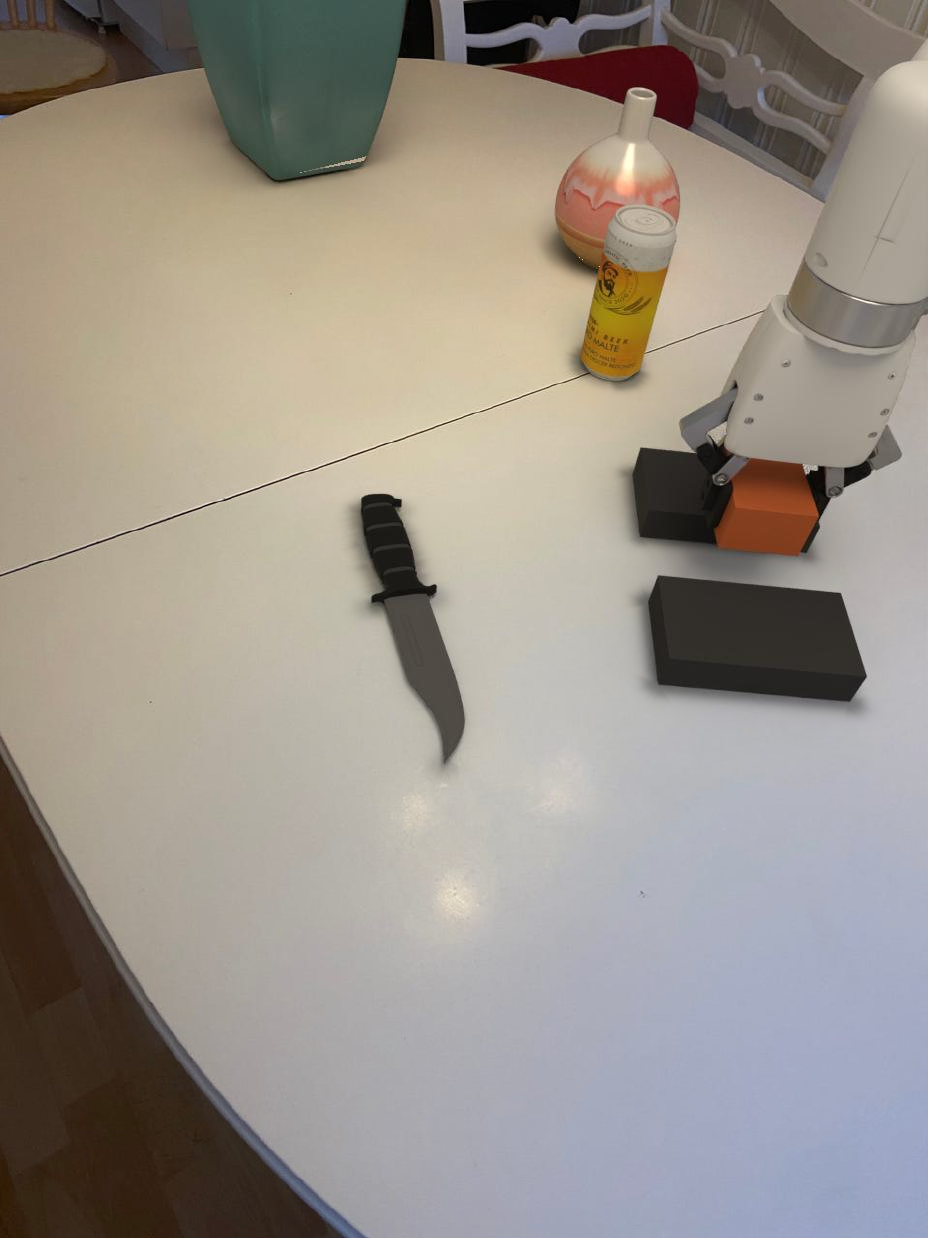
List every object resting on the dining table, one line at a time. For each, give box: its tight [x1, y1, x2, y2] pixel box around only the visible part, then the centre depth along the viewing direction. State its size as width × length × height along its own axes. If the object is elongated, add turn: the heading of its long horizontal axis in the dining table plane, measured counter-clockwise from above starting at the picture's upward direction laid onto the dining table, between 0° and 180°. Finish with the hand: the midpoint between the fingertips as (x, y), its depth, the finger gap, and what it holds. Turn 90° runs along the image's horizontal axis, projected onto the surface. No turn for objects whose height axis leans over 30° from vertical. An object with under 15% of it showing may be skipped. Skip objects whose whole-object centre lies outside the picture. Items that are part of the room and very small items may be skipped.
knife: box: [360, 493, 466, 765], centre depth 67 cm, size 25×2×5 cm
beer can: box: [580, 205, 678, 382], centre depth 86 cm, size 6×6×15 cm
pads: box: [632, 446, 868, 703], centre depth 73 cm, size 14×23×3 cm, turn 178°
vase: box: [554, 87, 681, 271], centre depth 100 cm, size 14×14×18 cm
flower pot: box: [185, 0, 407, 181], centre depth 106 cm, size 20×20×28 cm
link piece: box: [714, 458, 819, 557], centre depth 68 cm, size 6×6×4 cm
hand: (753, 518), depth 69 cm, fingers closed on link piece, 6 cm apart
